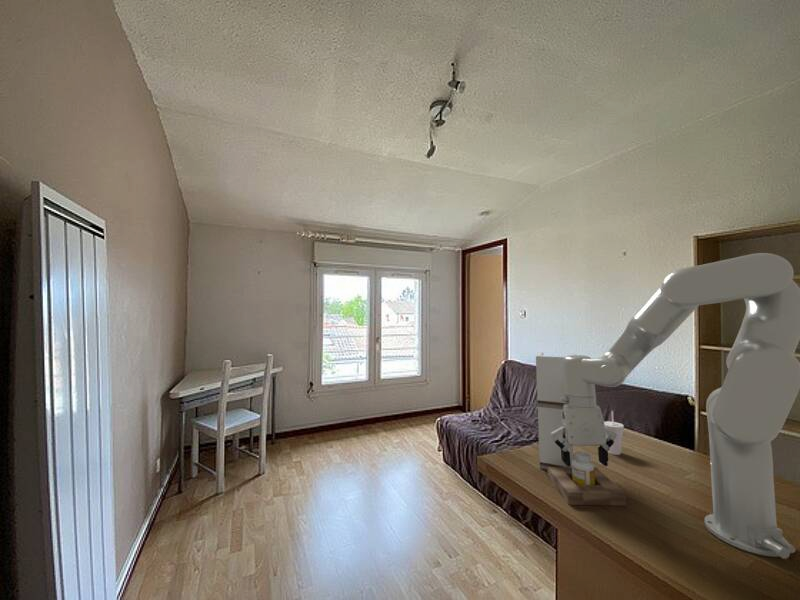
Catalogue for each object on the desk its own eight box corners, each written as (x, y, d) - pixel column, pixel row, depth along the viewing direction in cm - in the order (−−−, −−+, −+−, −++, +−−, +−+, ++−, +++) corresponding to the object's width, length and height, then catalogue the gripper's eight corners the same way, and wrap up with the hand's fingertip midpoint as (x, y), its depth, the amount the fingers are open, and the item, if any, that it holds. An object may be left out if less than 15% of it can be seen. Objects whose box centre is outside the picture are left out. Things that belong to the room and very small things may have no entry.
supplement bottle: (589, 485, 93) (588, 450, 93) (599, 496, 88) (597, 458, 88) (569, 484, 94) (568, 449, 94) (577, 495, 88) (576, 458, 89)
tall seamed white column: (578, 476, 98) (573, 357, 100) (539, 468, 104) (535, 356, 105) (579, 461, 108) (575, 353, 110) (544, 454, 114) (540, 352, 115)
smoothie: (625, 451, 115) (623, 410, 116) (625, 458, 110) (623, 415, 110) (603, 447, 119) (601, 407, 119) (603, 454, 113) (601, 412, 114)
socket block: (625, 505, 83) (625, 493, 83) (568, 504, 84) (568, 492, 84) (596, 477, 97) (596, 467, 97) (547, 477, 98) (547, 466, 98)
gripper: (553, 405, 88) (558, 470, 87) (621, 403, 87) (626, 470, 86) (543, 398, 96) (547, 458, 95) (605, 396, 95) (610, 458, 94)
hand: (585, 464), depth 91 cm, fingers open, 9 cm apart
